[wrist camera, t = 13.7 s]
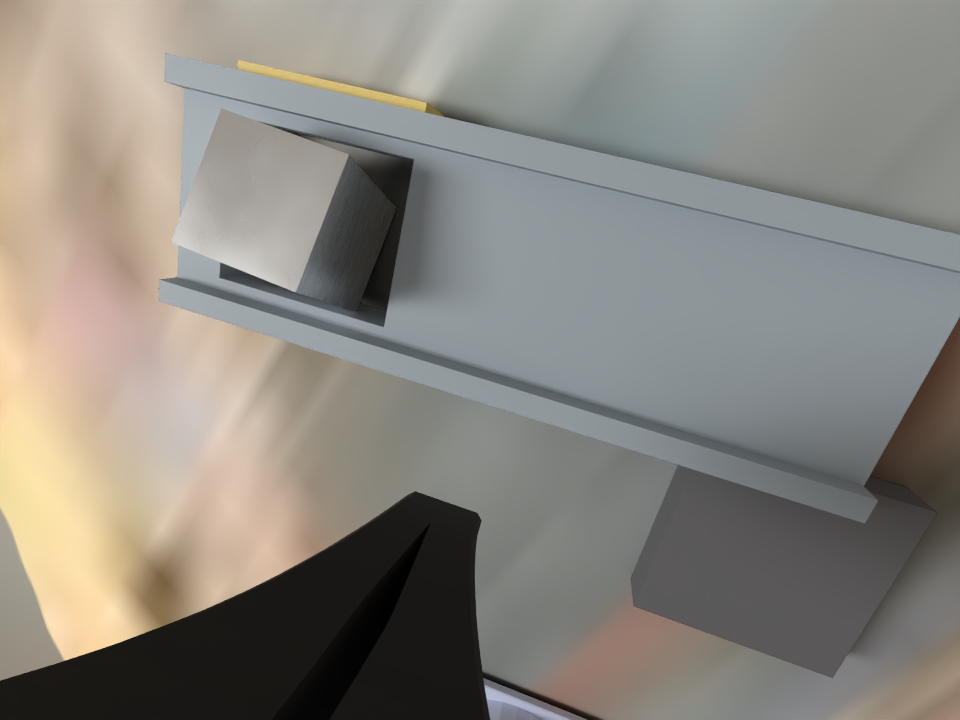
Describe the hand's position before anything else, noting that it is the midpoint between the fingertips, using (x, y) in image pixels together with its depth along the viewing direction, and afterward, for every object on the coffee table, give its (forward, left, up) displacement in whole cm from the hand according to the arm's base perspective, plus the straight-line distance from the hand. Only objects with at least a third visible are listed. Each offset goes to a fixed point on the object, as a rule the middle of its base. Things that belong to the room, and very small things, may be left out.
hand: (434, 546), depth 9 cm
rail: (+4, +1, -10) cm, 11 cm away
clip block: (+3, +8, -9) cm, 13 cm away
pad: (-3, -10, -10) cm, 14 cm away
